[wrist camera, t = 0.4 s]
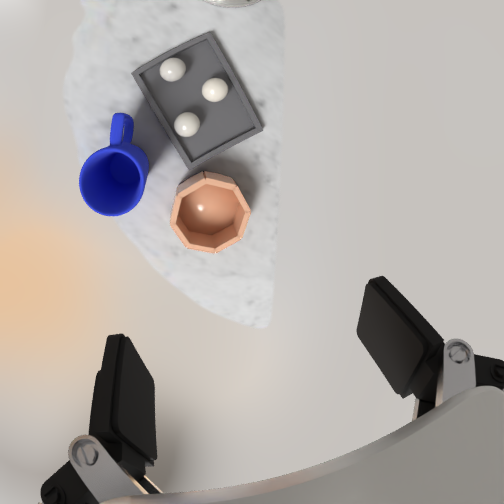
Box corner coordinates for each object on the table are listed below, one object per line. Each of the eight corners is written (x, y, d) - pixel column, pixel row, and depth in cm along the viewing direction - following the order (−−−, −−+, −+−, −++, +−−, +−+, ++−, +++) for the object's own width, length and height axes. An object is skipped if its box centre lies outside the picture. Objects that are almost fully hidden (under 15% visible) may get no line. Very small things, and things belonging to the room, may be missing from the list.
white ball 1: (156, 68, 30) (153, 64, 27) (179, 56, 29) (178, 50, 26) (167, 87, 31) (165, 84, 28) (190, 75, 31) (190, 71, 28)
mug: (161, 114, 33) (153, 114, 25) (151, 194, 39) (142, 219, 30) (107, 111, 31) (83, 113, 23) (100, 190, 36) (79, 214, 28)
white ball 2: (170, 120, 34) (168, 120, 31) (192, 107, 34) (192, 107, 31) (182, 140, 36) (181, 143, 33) (203, 128, 36) (205, 129, 33)
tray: (132, 74, 29) (131, 73, 28) (209, 33, 29) (209, 31, 28) (189, 168, 38) (189, 170, 37) (261, 129, 38) (263, 130, 37)
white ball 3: (196, 86, 32) (197, 84, 29) (219, 75, 32) (222, 71, 29) (208, 106, 34) (210, 106, 31) (230, 95, 34) (234, 94, 31)
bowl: (160, 195, 39) (157, 206, 35) (221, 159, 39) (226, 165, 34) (196, 247, 45) (197, 263, 41) (252, 215, 44) (260, 228, 40)
